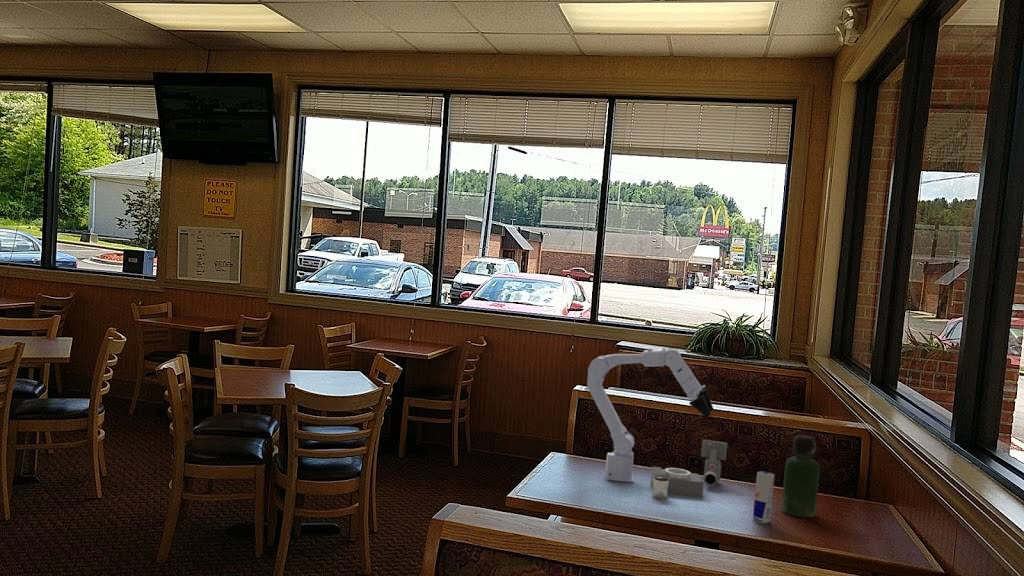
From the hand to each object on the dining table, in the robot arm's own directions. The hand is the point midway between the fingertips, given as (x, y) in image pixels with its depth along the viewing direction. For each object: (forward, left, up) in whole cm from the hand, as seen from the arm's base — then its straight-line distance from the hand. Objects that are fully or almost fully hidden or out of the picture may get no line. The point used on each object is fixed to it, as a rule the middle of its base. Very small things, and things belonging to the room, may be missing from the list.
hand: (709, 413), depth 277 cm
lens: (-16, -13, -27) cm, 34 cm away
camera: (+5, +10, -27) cm, 29 cm away
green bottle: (+28, -16, -27) cm, 42 cm away
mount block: (-9, -2, -27) cm, 29 cm away
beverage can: (+13, -29, -27) cm, 42 cm away
